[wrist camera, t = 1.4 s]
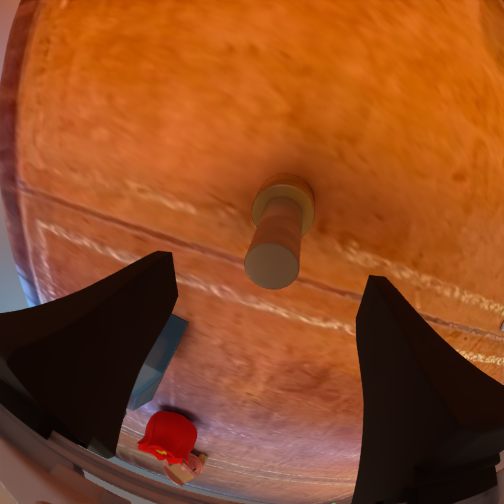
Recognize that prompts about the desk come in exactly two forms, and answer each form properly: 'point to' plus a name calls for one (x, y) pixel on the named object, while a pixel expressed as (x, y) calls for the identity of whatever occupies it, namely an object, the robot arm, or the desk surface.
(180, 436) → the flower
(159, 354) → the perfume bottle
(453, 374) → the robot arm
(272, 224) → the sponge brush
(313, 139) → the desk surface
